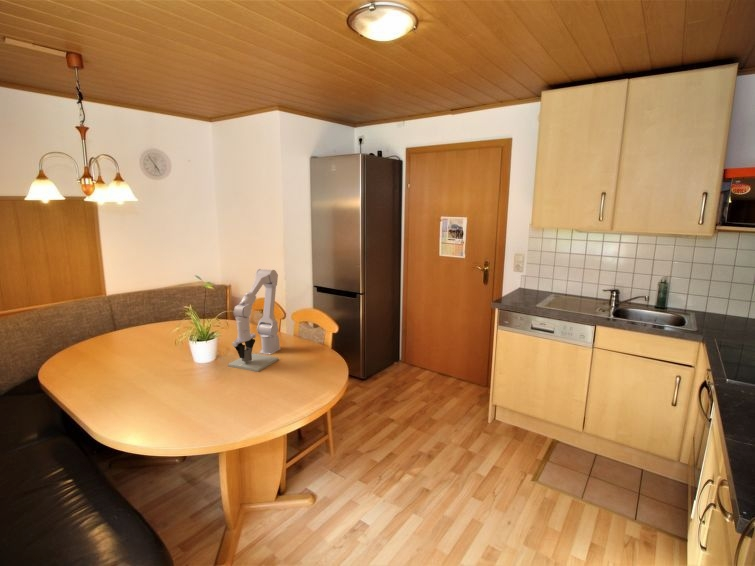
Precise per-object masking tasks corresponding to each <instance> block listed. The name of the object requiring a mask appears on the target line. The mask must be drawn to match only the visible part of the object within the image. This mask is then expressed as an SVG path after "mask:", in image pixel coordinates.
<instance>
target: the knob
mask: <svg viewBox="0 0 755 566" xmlns="http://www.w3.org/2000/svg"><path fill="white" fill-rule="evenodd" d="M252 352H253V350H252V351H251V348H249V347H247V348H246V347H245V349H244V358H242V361H244V362H248V361H251V360H252Z"/></svg>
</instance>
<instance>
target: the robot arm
mask: <svg viewBox="0 0 755 566" xmlns="http://www.w3.org/2000/svg"><path fill="white" fill-rule="evenodd" d="M278 279H279V274H278V272H277V271H276V269H261V268H258V269H257V270H256V271H255V274H254V280H253V283H252V285H251V287H250V289H249V291H248V292H245V293H244V295H243V297H242V298H241V301H240V302H239V304H237V305H235V306H234V307H233V311H232V314H233V316H234V318H235V321H236V330H237V337H236V340H234V341H232V342H231V343H232V345H231V346H232V347H234V349H235V350H236V352H237V353H238V356H239V358H244V349H245V348H247V347H249V348H251V351H252V352H253V349H254V344H255V343H256V337H257V334H258V335H259V337H260V342H261V344H260V345H261V350H259V351H258V353H257V354H261V355H267V356H271V355H273V354H276V353H277V352H278V351H280V350H281V349H282V348H281V347H280V345H281V344H280V337H279V335H278V331H279V327H278V326H279V325H278V321H277V320H276V319H275V318H274V313H275V312H274V311H275V301H276V293H277V285H278ZM262 287H264V288H265V292H264V303H263V313H262V314H263V315H262V317H261V318H260V319H259V320H258V324H257V327H256V331H257V334H256V333H251V329H250V316H251V315H252V314H251V313H252V308H253V306H254V303H255V301H256V300H257V294H258V293H259V291H260V289H261V288H262Z"/></svg>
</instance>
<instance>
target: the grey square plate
mask: <svg viewBox="0 0 755 566" xmlns="http://www.w3.org/2000/svg"><path fill="white" fill-rule="evenodd" d="M278 360H279V357H277V356H271V355H267V354H261V353H252V360H251V361H248V362H244V361H242V358H240V357H239V358H236V359H235V360H233V361H231V362H229V363H228V364H227V367H230V368H234V369H239V370H240V369H241V370H245V371H251V372H255V373H256V372H257V373H259V372H261V371H263V370H264V369H266V368H267V367H269V366H271V365H272V364H274V363H275V362H278Z"/></svg>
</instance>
